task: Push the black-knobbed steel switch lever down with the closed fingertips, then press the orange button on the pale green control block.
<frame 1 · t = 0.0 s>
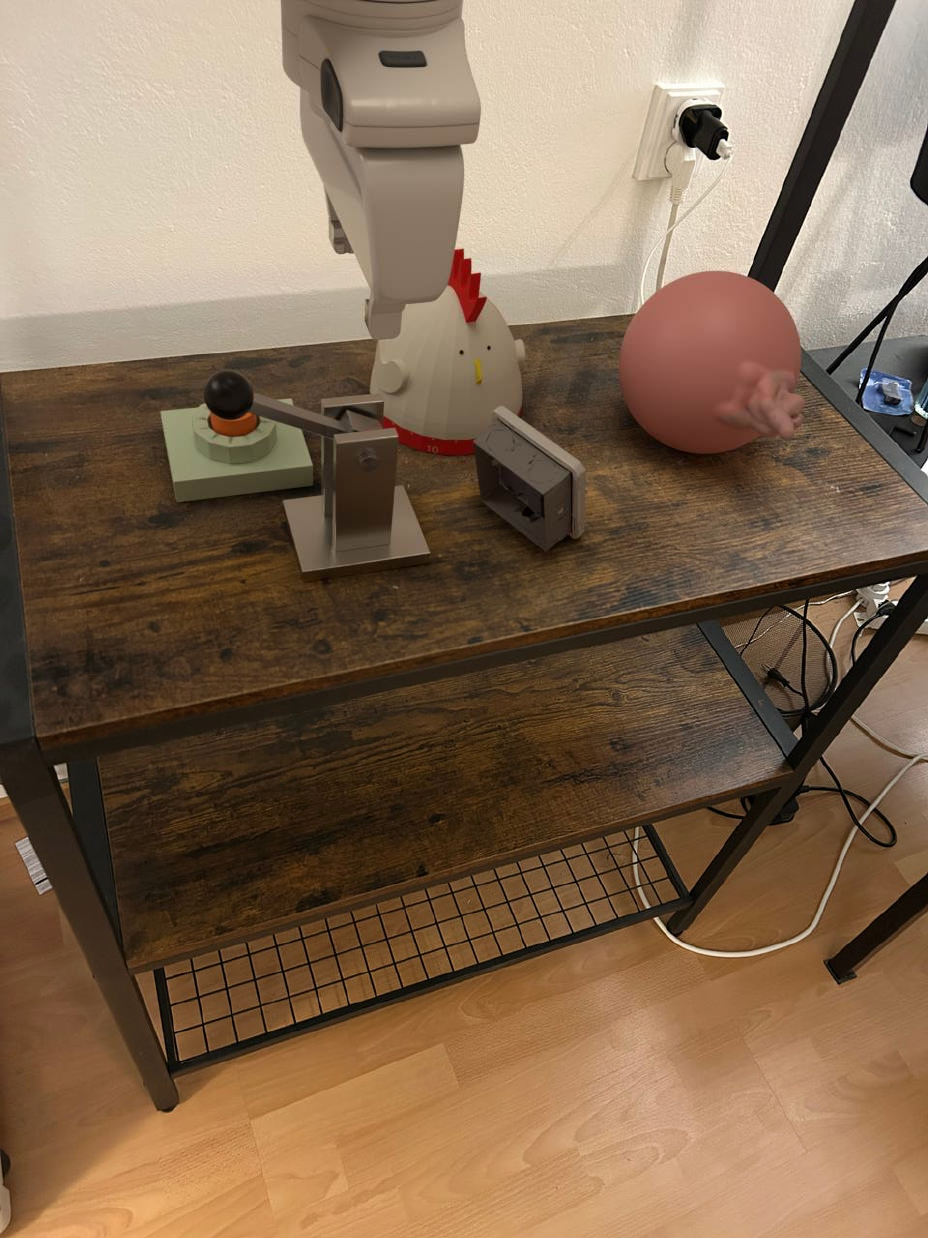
hand: (362, 288, 59), 23 cm above the table, tool pointing down, fingers open, 8 cm apart
control block: (237, 458, 81), on the table
cancel button: (233, 415, 78), point 4 cm above the table, slide at 0.1 cm
switch bracket: (355, 536, 77), on the table
switch lever: (295, 416, 66), point 12 cm above the table, hinge at 28.0°
electrical switch: (523, 523, 80), on the table
balloon: (693, 451, 89), on the table
kitchen timer: (444, 407, 89), on the table
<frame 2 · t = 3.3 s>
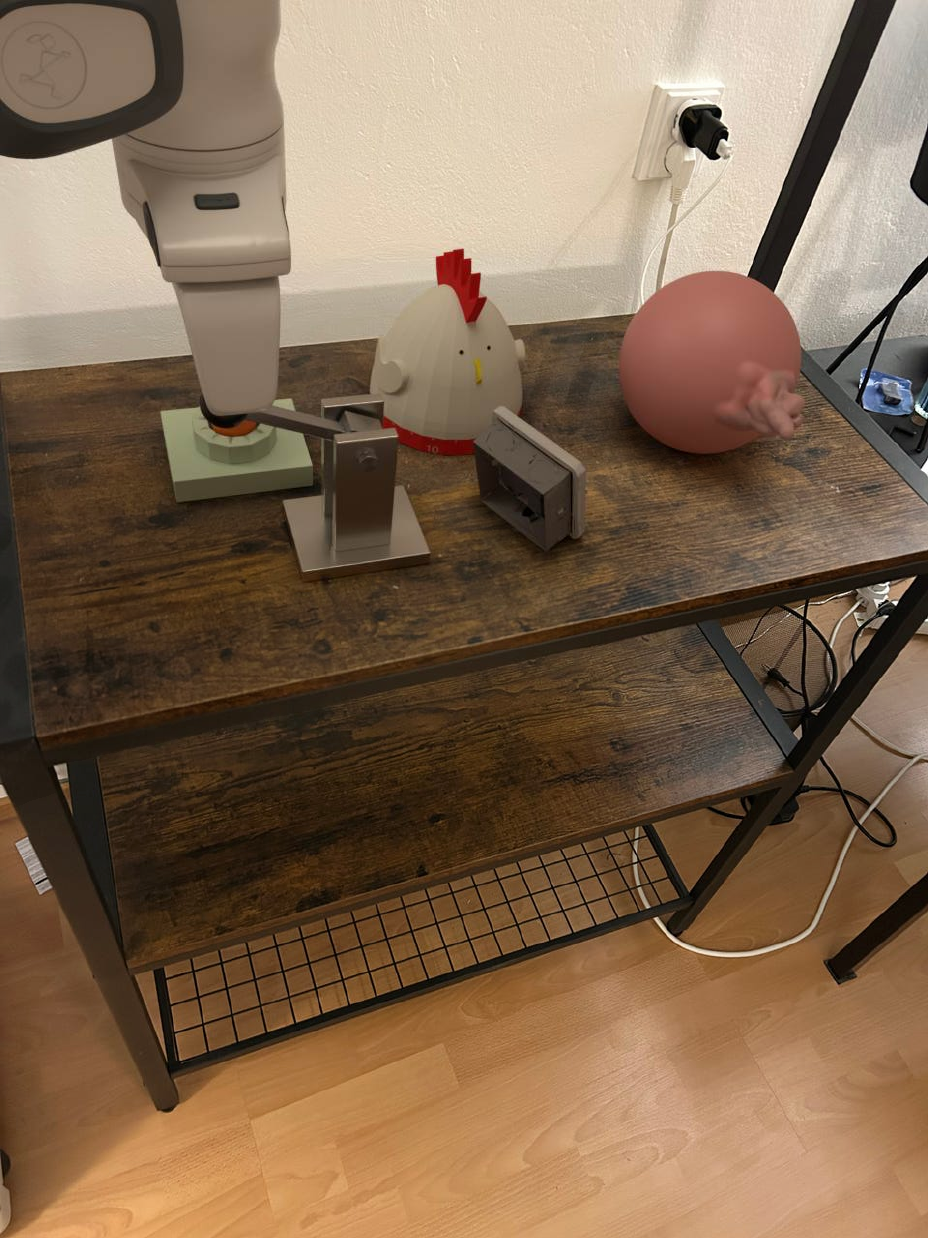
hand: (223, 382, 63), 16 cm above the table, tool pointing down, fingers closed
switch lever: (293, 420, 66), point 12 cm above the table, hinge at 23.8°
everything else where it was.
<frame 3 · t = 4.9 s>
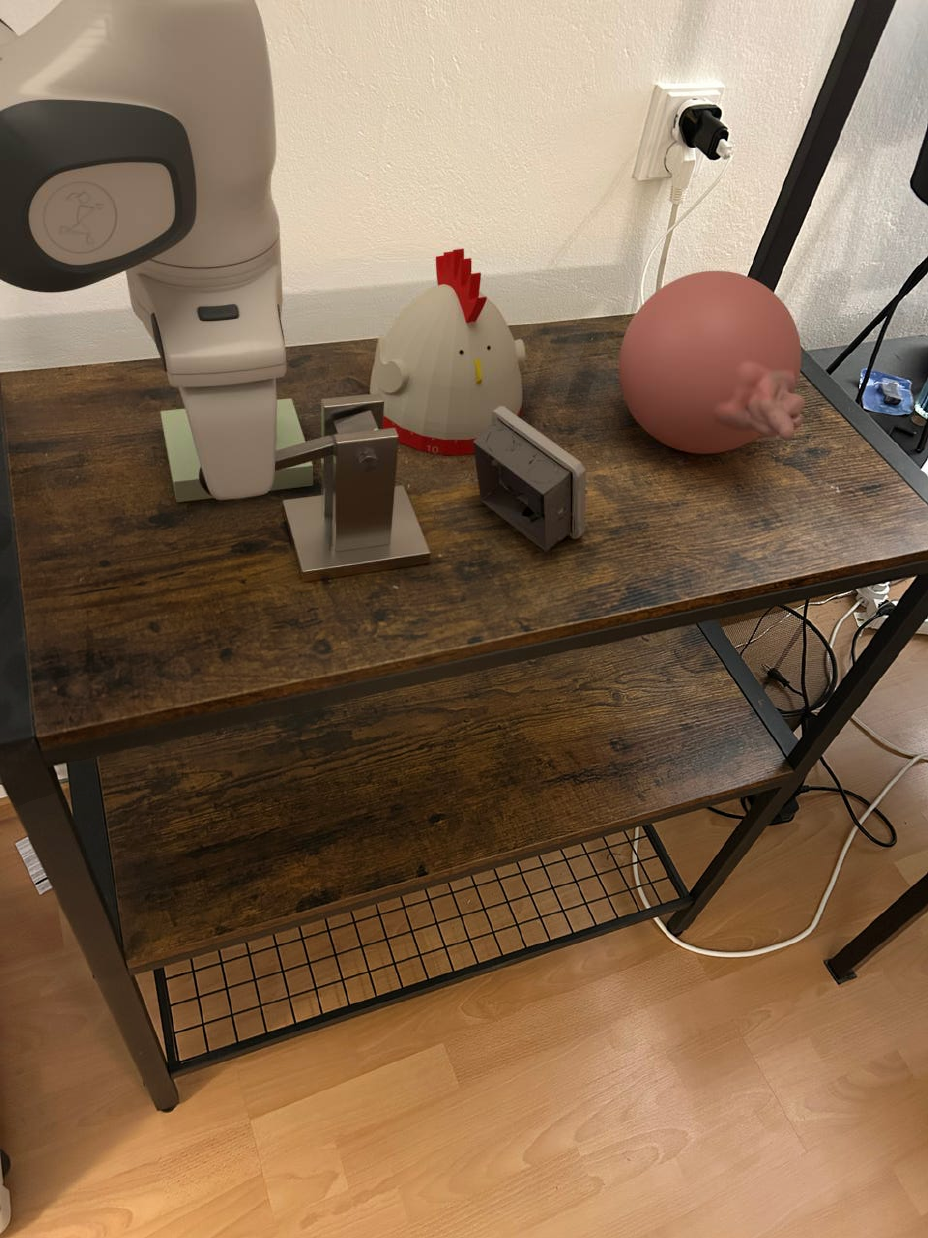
hand: (224, 457, 67), 10 cm above the table, tool pointing down, fingers closed, pressing on switch lever
switch lever: (289, 456, 69), point 9 cm above the table, hinge at -12.3°, touching gripper
everything else where it was.
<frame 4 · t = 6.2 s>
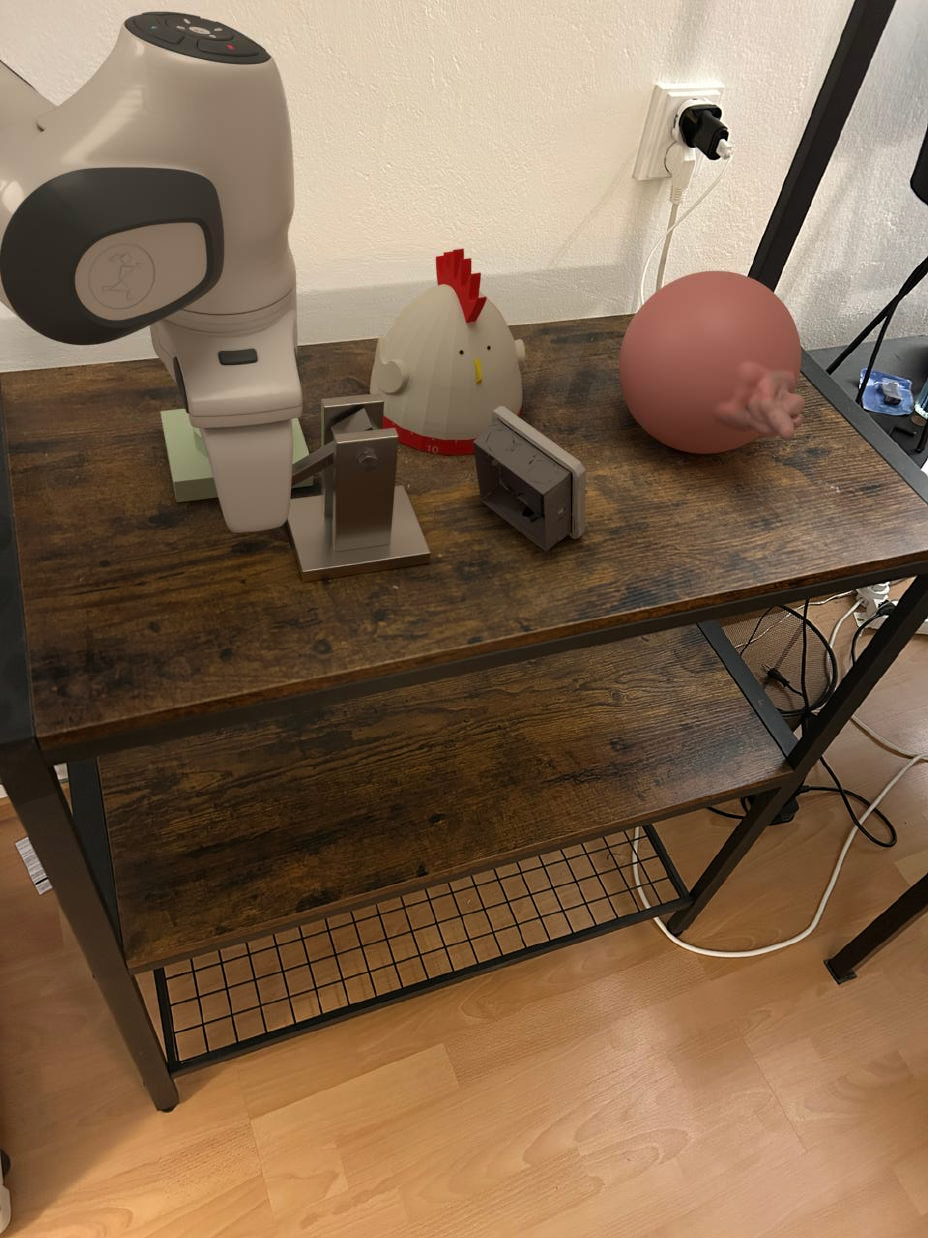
hand: (238, 487, 69), 7 cm above the table, tool pointing down, fingers closed
switch lever: (298, 472, 70), point 7 cm above the table, hinge at -30.6°
everything else where it was.
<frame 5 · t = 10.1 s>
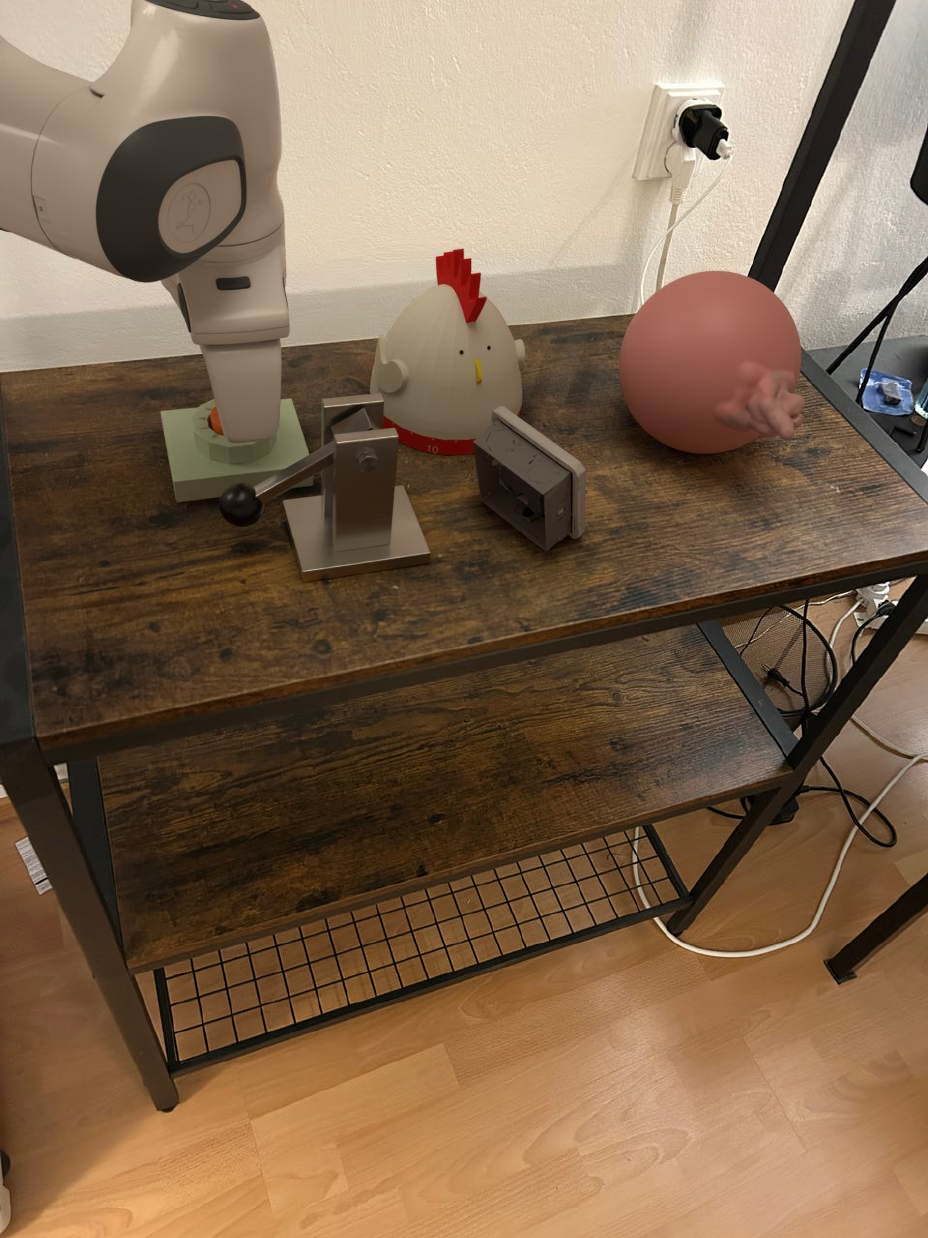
hand: (235, 413, 78), 5 cm above the table, tool pointing down, fingers closed, pressing on cancel button
cancel button: (234, 422, 79), point 4 cm above the table, slide at -0.6 cm, touching gripper
everything else where it was.
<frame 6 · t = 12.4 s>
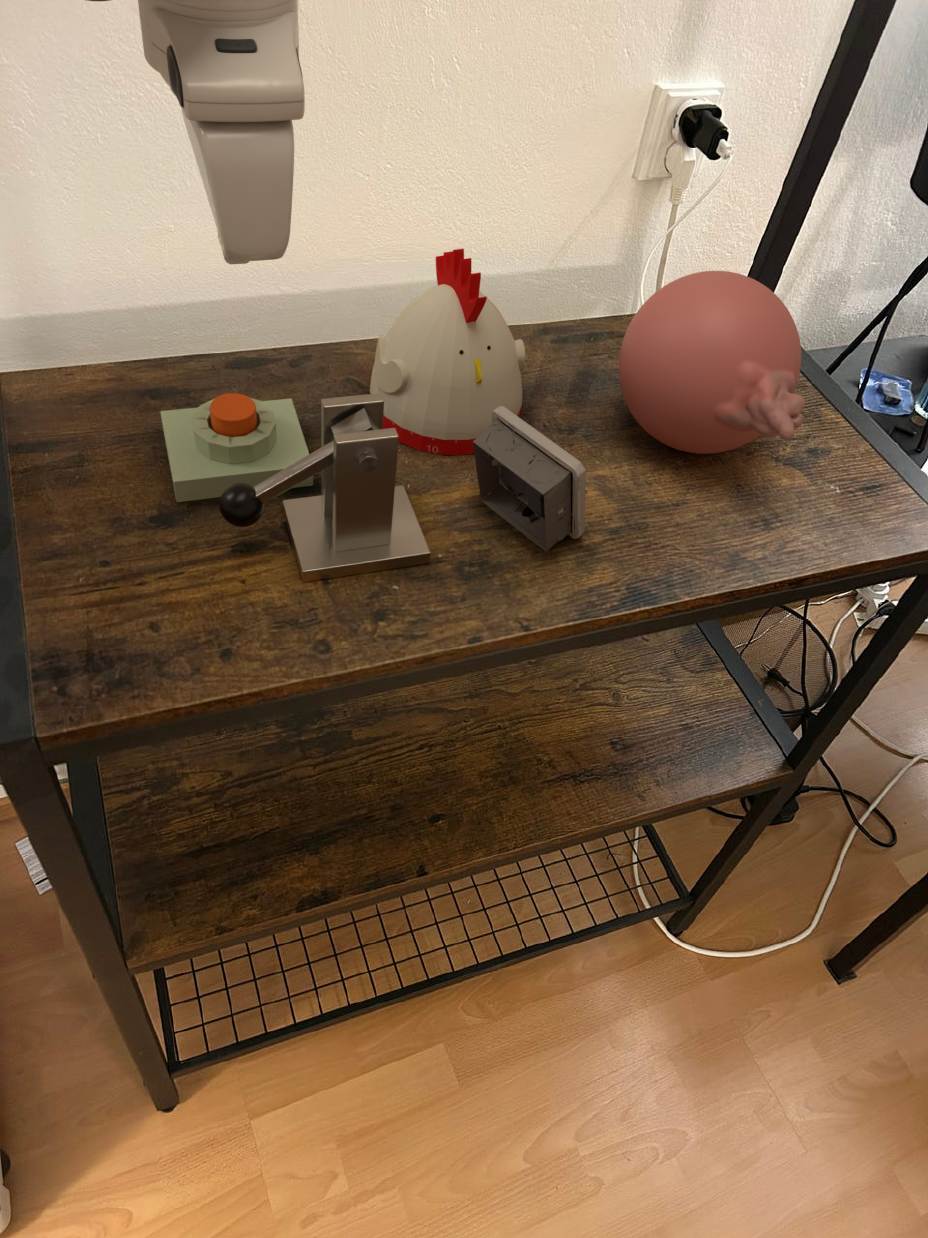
hand: (234, 253, 66), 19 cm above the table, tool pointing down, fingers closed
cancel button: (233, 415, 78), point 4 cm above the table, slide at 0.1 cm
everything else where it was.
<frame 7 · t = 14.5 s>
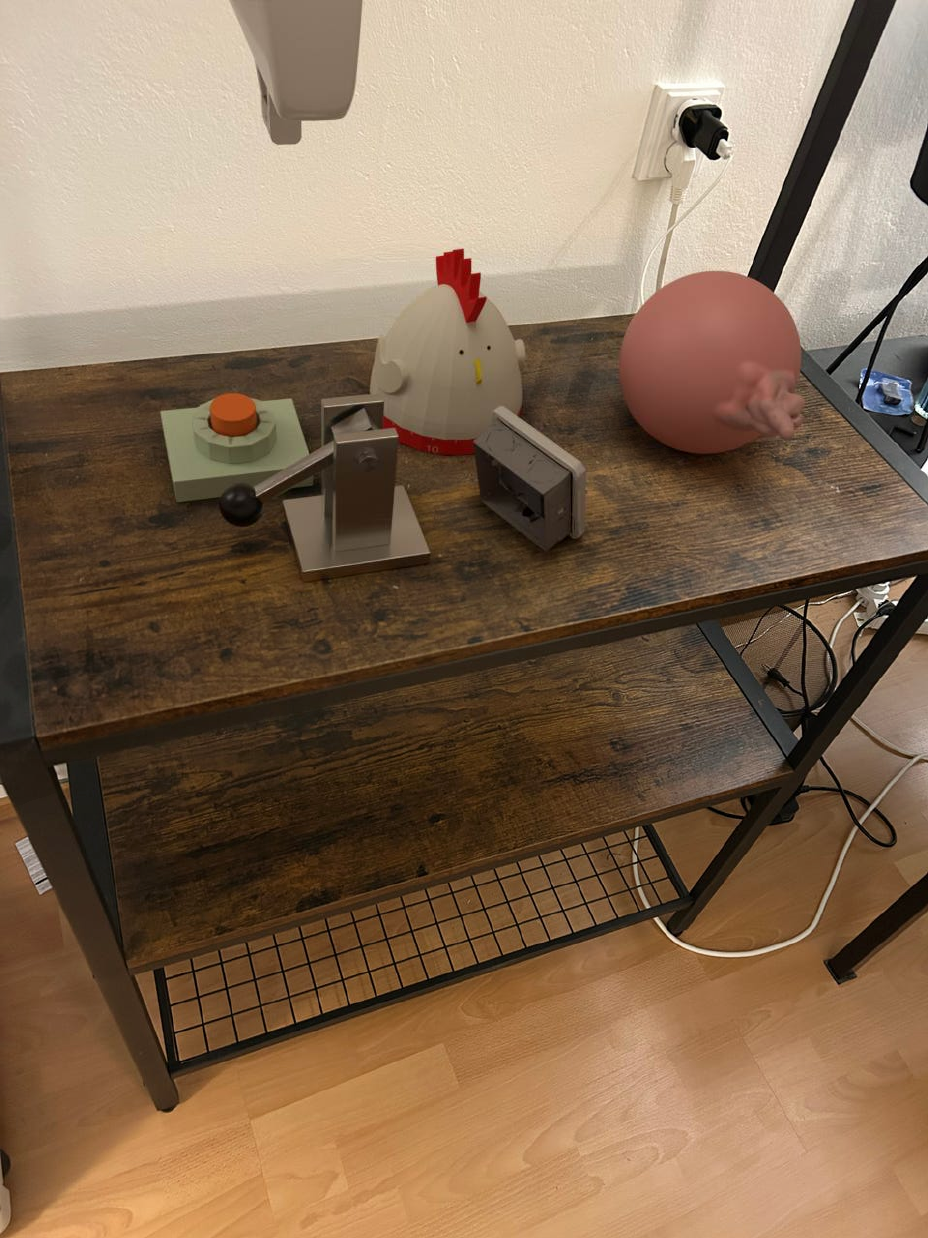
hand: (281, 133, 57), 29 cm above the table, tool pointing down, fingers closed
nothing on the table moved.
at the end: switch lever at -31° (first picture: +28°); cancel button pushed in 1.0 cm at the most during the clip, back to where it started at the end; cancel button slide at 0.1 cm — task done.
